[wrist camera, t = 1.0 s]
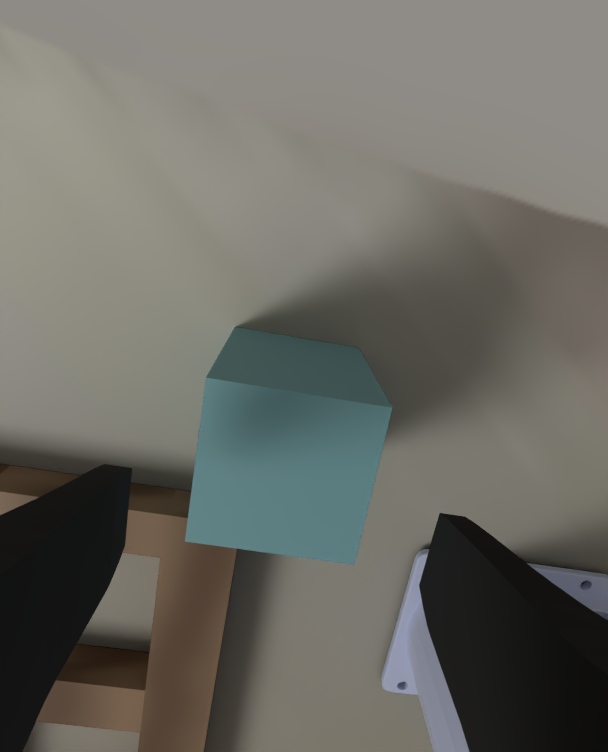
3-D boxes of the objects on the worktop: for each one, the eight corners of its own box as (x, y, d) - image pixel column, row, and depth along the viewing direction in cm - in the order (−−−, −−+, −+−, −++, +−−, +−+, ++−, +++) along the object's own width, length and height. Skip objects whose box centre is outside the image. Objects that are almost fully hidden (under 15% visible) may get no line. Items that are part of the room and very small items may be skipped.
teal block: (358, 347, 20) (392, 408, 13) (334, 459, 21) (354, 564, 15) (235, 326, 20) (206, 377, 13) (218, 441, 21) (184, 541, 14)
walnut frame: (245, 499, 22) (240, 525, 20) (192, 818, 27) (185, 863, 25) (-64, 454, 21) (-100, 477, 19) (-53, 795, 26) (-81, 839, 24)
